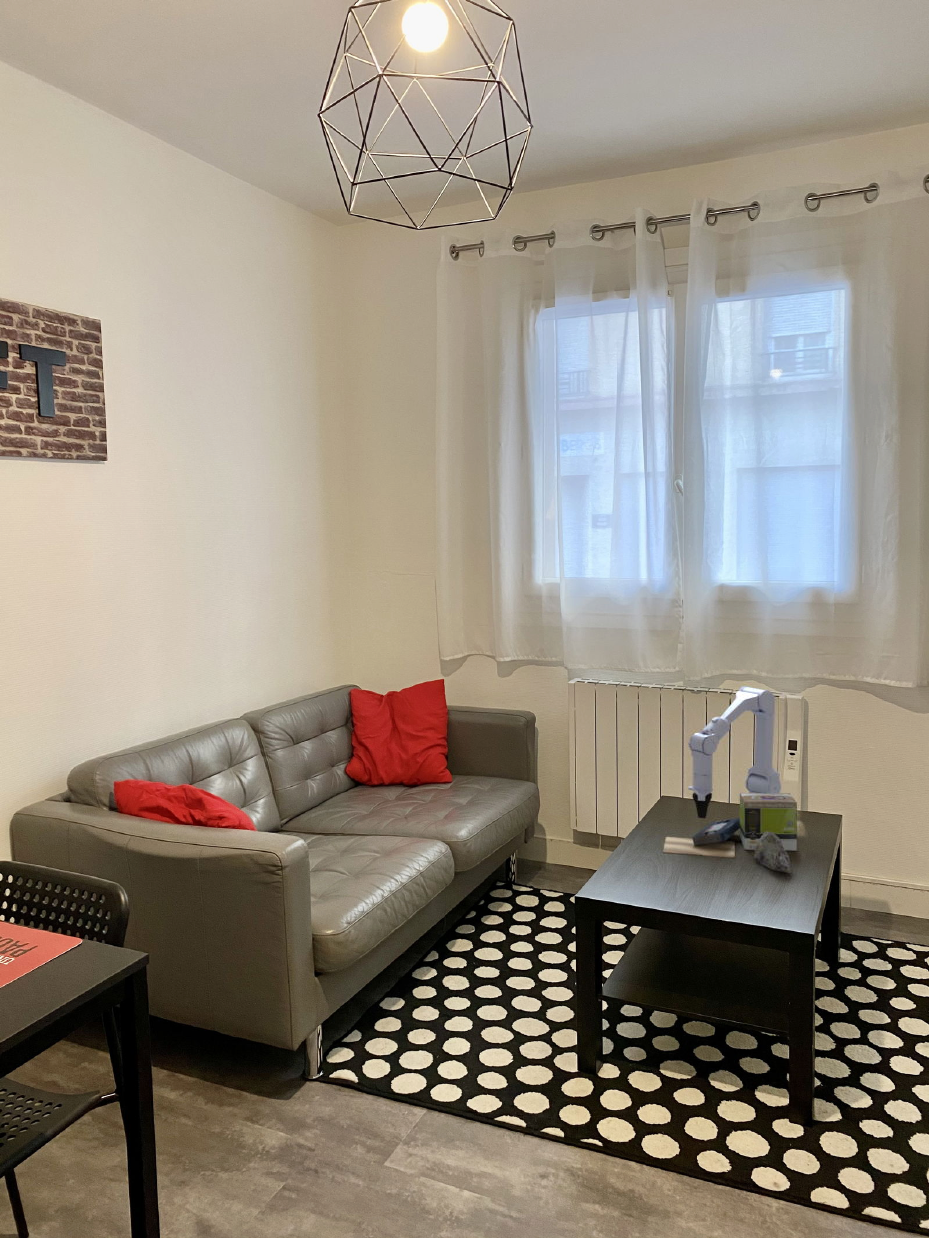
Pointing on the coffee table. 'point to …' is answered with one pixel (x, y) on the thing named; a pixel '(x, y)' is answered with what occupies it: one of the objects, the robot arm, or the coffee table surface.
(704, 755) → the robot arm
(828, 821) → the coffee table surface
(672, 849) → the wooden board
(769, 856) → the mineral rock
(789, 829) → the tea box
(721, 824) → the vhs cassette tape
